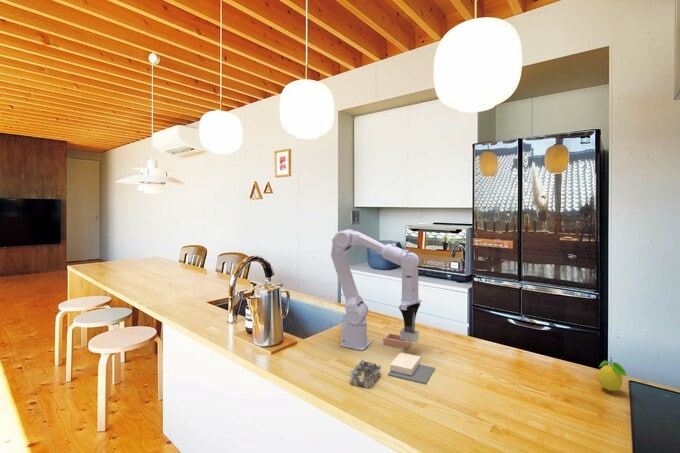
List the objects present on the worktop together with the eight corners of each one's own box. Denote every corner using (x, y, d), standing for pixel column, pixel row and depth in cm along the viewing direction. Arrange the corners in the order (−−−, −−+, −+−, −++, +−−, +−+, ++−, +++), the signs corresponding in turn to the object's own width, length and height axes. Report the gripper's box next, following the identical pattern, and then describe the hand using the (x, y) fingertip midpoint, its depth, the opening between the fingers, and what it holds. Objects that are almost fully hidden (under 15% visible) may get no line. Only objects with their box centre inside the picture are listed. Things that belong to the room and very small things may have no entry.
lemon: (625, 400, 96) (627, 364, 95) (598, 394, 99) (600, 359, 98) (621, 389, 101) (623, 355, 101) (596, 383, 104) (598, 350, 104)
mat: (387, 375, 111) (387, 374, 111) (399, 361, 120) (399, 360, 120) (426, 384, 105) (426, 383, 105) (434, 368, 115) (434, 367, 115)
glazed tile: (400, 358, 121) (390, 371, 112) (400, 352, 121) (390, 364, 112) (420, 363, 118) (411, 376, 109) (420, 356, 118) (411, 369, 109)
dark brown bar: (416, 342, 124) (416, 314, 123) (400, 339, 127) (400, 311, 126) (418, 339, 127) (419, 312, 126) (402, 336, 130) (403, 309, 129)
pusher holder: (406, 349, 130) (406, 342, 130) (383, 344, 134) (383, 338, 134) (411, 343, 135) (411, 336, 135) (388, 339, 140) (388, 332, 139)
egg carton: (370, 390, 102) (370, 377, 102) (347, 384, 106) (347, 371, 105) (383, 374, 112) (383, 361, 112) (361, 369, 115) (361, 357, 115)
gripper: (414, 293, 117) (414, 333, 118) (426, 284, 130) (426, 320, 131) (394, 290, 121) (394, 329, 122) (408, 281, 133) (407, 317, 134)
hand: (409, 324), depth 126 cm, fingers closed on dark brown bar, 3 cm apart
